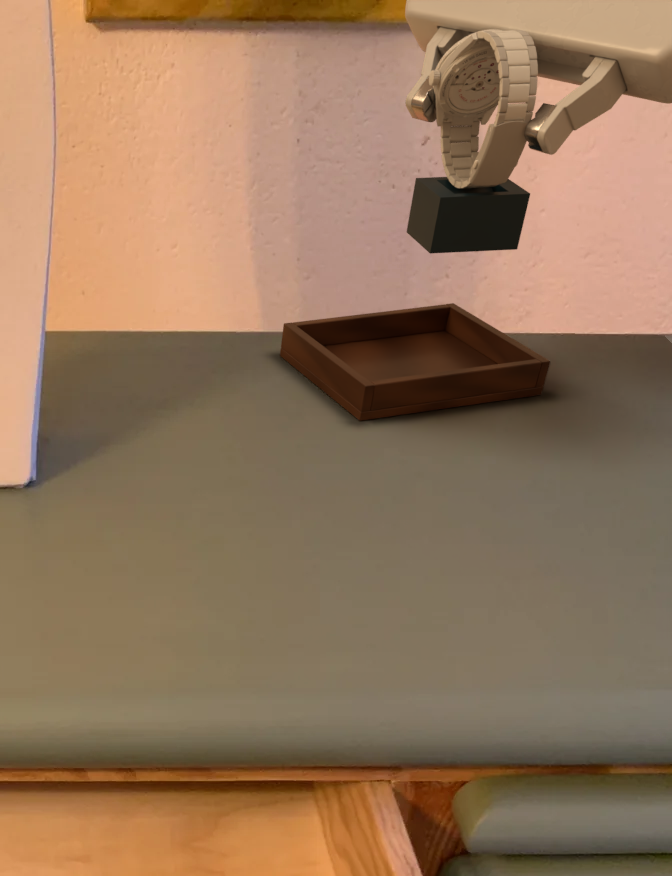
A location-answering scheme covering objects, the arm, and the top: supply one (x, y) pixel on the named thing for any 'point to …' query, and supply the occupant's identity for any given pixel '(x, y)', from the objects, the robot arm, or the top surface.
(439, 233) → the watch
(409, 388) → the tray
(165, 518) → the top surface
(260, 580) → the top surface
